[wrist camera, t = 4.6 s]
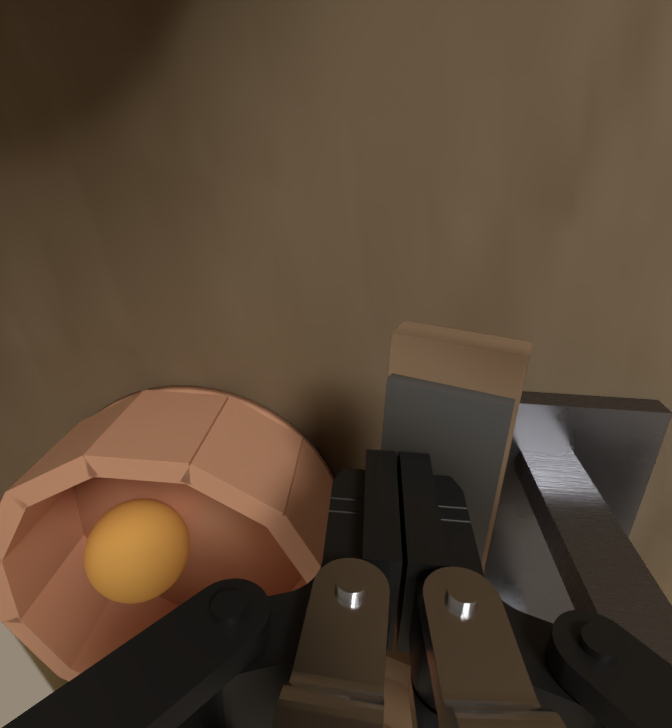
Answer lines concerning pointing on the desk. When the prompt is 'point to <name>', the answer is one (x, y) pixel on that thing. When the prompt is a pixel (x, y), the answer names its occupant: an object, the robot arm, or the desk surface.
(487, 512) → the chute
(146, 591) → the ball
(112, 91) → the desk surface
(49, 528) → the pink round bowl
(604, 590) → the chute stand
